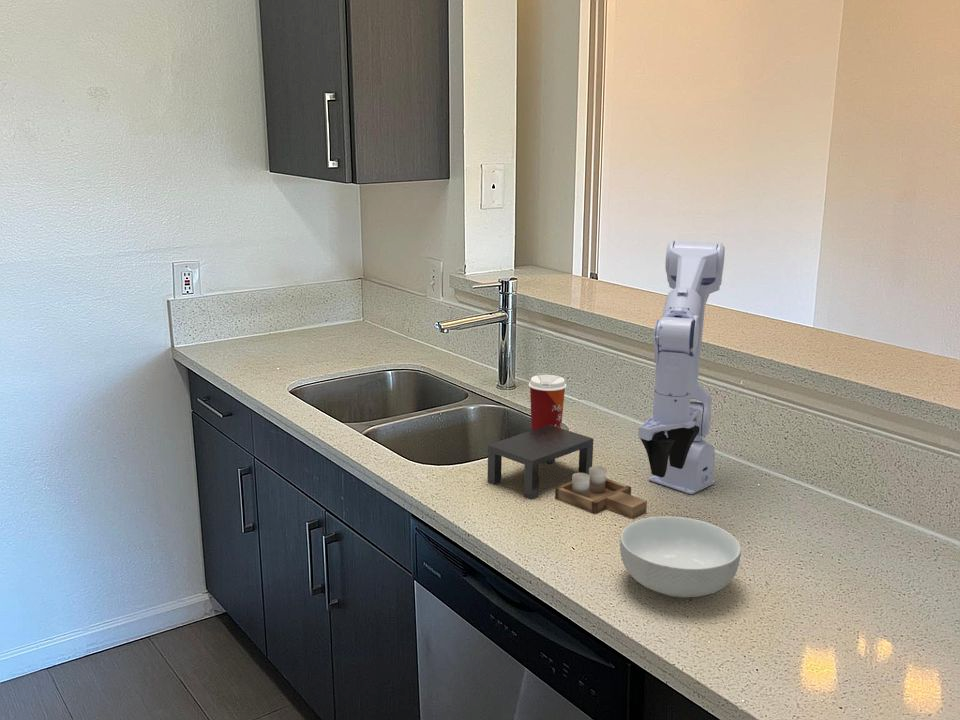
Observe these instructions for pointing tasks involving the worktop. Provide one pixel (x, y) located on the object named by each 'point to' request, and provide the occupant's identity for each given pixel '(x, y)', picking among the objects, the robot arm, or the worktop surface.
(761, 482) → the worktop surface
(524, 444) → the riser
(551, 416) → the paper cup
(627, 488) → the tray
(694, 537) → the cereal bowl
